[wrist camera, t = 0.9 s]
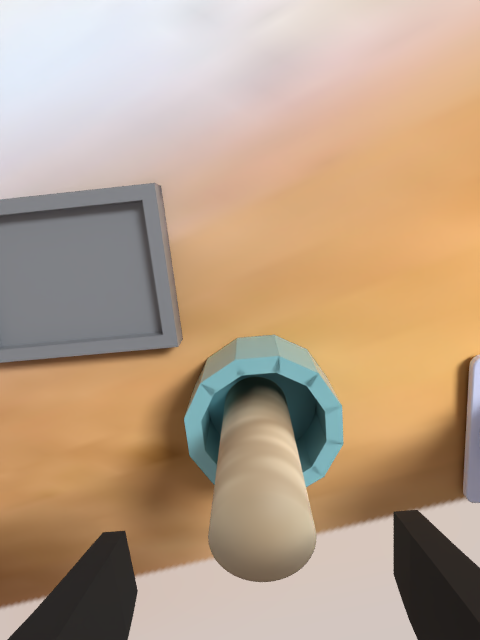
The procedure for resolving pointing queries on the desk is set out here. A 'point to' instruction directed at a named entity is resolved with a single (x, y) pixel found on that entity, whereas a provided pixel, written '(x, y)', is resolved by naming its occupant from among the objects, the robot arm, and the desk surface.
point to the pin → (259, 488)
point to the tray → (86, 274)
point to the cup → (299, 389)
